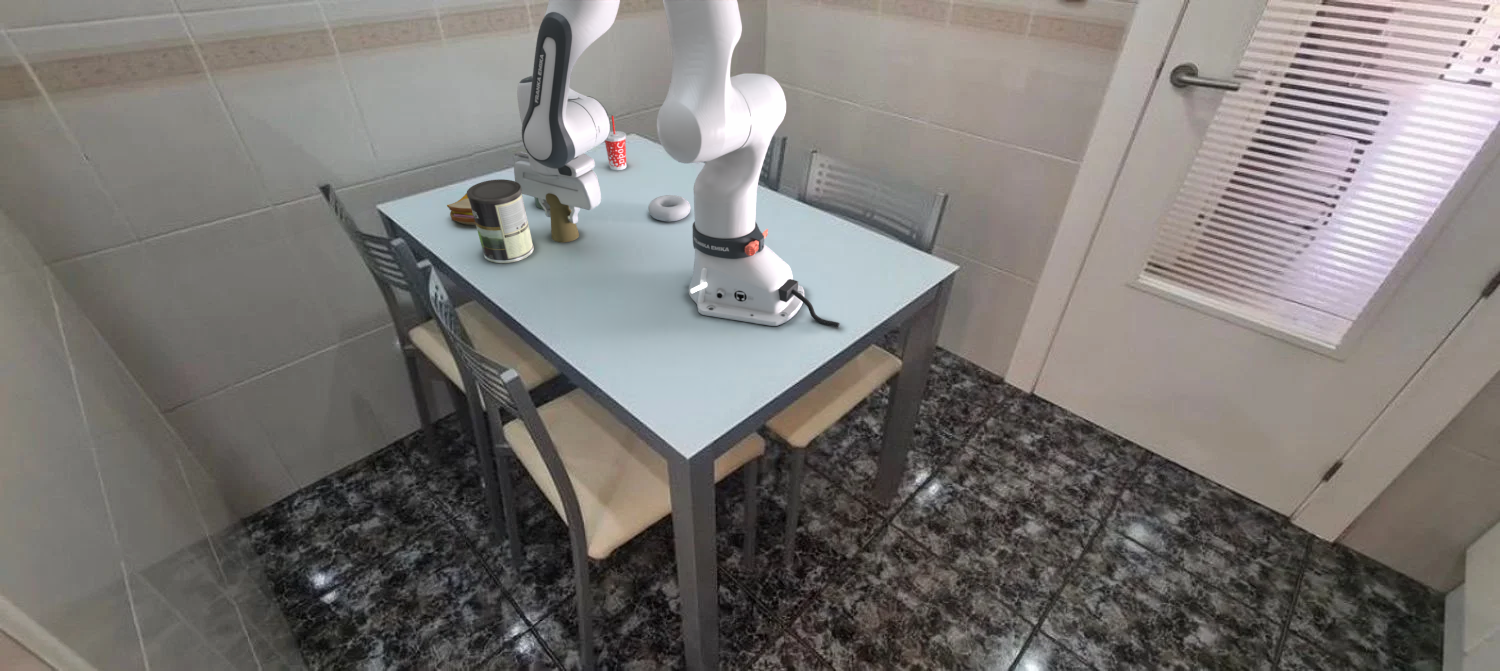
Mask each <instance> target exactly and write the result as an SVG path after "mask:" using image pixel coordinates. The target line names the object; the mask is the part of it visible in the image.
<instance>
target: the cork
mask: <svg viewBox="0 0 1500 671" xmlns="http://www.w3.org/2000/svg"><path fill="white" fill-rule="evenodd" d="M546 201H547V203H548V204H549V205H550V217H551V218H550V217H549V218H550V235H551V240H552V241H553V242H555V243H563V244H565V243H569V242H573V241H576V240H577V239H579V237H580V233H579V229H578V226H577V222H576V223H575V224H574V223H570V222H568V218H567V215H568V214H570V213H571V211H572V210H570V209H569V205H565V204H561V203H560V201H559V198H558V197H557V196H556V195H554V194H550V193H548V194H546Z"/></svg>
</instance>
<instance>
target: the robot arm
mask: <svg viewBox="0 0 1500 671" xmlns="http://www.w3.org/2000/svg"><path fill="white" fill-rule="evenodd" d="M620 4H621V0H548V2H547V7H546V11H545V13H544V16H543V18H542V21H541V23H540V26H539V29H538V33H537V38H536V43H535V52H534V60H533V61H534V62H533V68H532V69H533V70H532V75H530V76H527V77H525V78H522V79H521V80H520V81H519V83H517V91H516V92H517V93H516V94H517V107H518V113H519V116H520V122H521V140H522V144H523V146H524V149H525V151H526V152H525V151H523V150H517V151H516V152H515V153H514V154H513V156H512V159H513V160H512V161H513V163H514V165H513V174H514V181H515V182H517V183H519V184H520V185H521V188H522V191H521V192H522V195H525V196H529V197H532V198H534V197H536V198H538V200H539V203H540V204H541V206H542V207H543V209H542V210H544V213H545V217H547V218H550V219H551V217H550V205H549V204H548V203H547V201H546V194H548V193H550V194H554V195H556V196H557V197H558V198H559V201H560V203H561V204H565V205H569V209H570V210H572V211H571V213H570V214H568V215H567V218H568V222H570V223H574V224H575V223H576V224H577V223H578V222H579V215H578V214H579V213H580V210H586V211H593V210H594V209H595V208H597V207H598V206H600V204H601V203H602V193H601V187H600V182H599V178H598V176H597V174H596V172H595V171H594V170H593V169H595V167H596V162H595V159H594V158H593V157H591V156H590V155H588V154H586V153H587V152H589V151H591V150H592V149H594V148H595V147H597V146H600V145H601V144H603V143H605V140H606V139H607V138H608V136H609V134H610V131H611V120H610V119H611V118H610V115H609V113H608V111H607V108H606V107H604V105H603V103H602V102H600V101H599V100H598V99H597V98H594V97H593V96H590V95H584V94H583V93H580V92H578V91H576V90H574V89H572V88H571V87H570V86H571V78H572V72H573V69H574V67H575V65H576V63H577V61H578V59H579V58H580V57H581V56H582V55H583V53H584V52H585V51H586V50H587V49H588V48H589V47H590V46H591V45H592V44H593V43H594V42H595V41H597V40H598V39H599V38H600V37H602V36H603V35H605V33H607V32H608V31H609V30H610V29H611V27H612V26H613V25H614V23H615V21H616V19H617V18H616V17H617V15H618V11H619V7H620ZM662 5H663V9H664V13H665V18H666V23H667V28H668V33H669V39H670V45H671V72H670V73H671V74H670V81H669V86H668V90H667V94H666V97H665V100H664V101H663V103H662V105H661V107H660V108H659V110H658V113H657V117H656V132H657V137H658V140H659V142H660V144H661V147H662V149H663V150H664V151H665V152H666V154H667V155H668V156H669V157H670V158H671V159H673V161H676V162H678V163H681V164H696V163H697V164H698V163H704V162H705V163H704V164H703V167H702V169H701V170H700V171H699V173H697V176H696V178H695V181H694V183H693V214H694V215H693V216H694V217H693V218H694V221H693V223H692V246H693V249H694V260H693V269H692V274H691V275H692V276H691V279H690V284H689V286H688V295H689V297H690V299H691V300H693V302H694V303H695V304H696V306H697V312H698V313H699V314H700V315H703V316H708V317H714V318H721V319H726V320H732V321H738V322H746V323H751V324H758V325H764V326H770V327H771V326H772V327H777V326H779V325H780V326H781V325H783V324H785V323H787V322H788V321H789V320H791V319H792V318H794V316H796V314H797V313H798V312H799V311H800V309H801V308H802V306H803V305H805V306H806V307H807V309H808V311H809V315H810V316H811V318H812V319H813V320H814V321H816V322H817V323H818V324H821V325H824V326H829V327H835V328H839V327H840V324H841V323H840V322H837V321H832V320H828V319H824V318H822V317H820V316H818V315H817V314H816V312H815V309H814V306H813V305H812V303H811V301H809V299H808V298H806V297H805V289H804V287H803V286H802V285H799V281H798V280H795V279H794V276H793V270H792V269H791V266H790V265H789V264H788V263H787V262H785V261H784V259H783V258H781V257H780V256H779V255H778V254H776V253H775V252H774V251H773V250H772V249H771V248H770V247H769V246H767V244H766V243H765V239H766V237H768V235H769V233H768V231H769V228H766V229H765V230H764V231H763V232H762V231H761V229H760V228H759V225H758V222H757V221H756V218H757V217H756V216H757V197H758V185H759V181H760V177H761V172H762V169H763V165H764V162H765V158H766V155H767V152H768V149H769V146H770V144H771V142H772V139H773V137H774V135H775V133H776V131H777V130H778V128H779V127H780V125H781V124H782V123H783V121H784V119H785V116H786V113H787V100H786V95H785V92H784V90H783V88H782V86H781V85H780V83H779V82H778V81H777V80H776V79H775V78H773V77H772V76H770V75H769V74H766V73H765V74H764V73H747V72H746V73H740V74H737V75H733V76H731V65H732V58H733V54H734V50H735V48H736V46H737V45H738V43H739V41H740V39H741V37H742V32H743V24H742V18H741V12H740V8H739V3H738V0H662Z"/></svg>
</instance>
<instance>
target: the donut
mask: <svg viewBox="0 0 1500 671" xmlns="http://www.w3.org/2000/svg"><path fill="white" fill-rule="evenodd" d="M691 210H692V209H691V204H690V202H689V201H688V200H687V198H685V197H682V196H680V195H675V194H666V195H661V196H658V197H657V196H656V197H655V198H653V199H652V200H651V201H650V202H649V204H648V214H649V215H650V216H651V217H652V218H653V219H655V220H657V221H660V222H676V221H677V222H678V221H681V220H684V219H685V218H686V217H687V216H688V215H689V214H690V212H691Z"/></svg>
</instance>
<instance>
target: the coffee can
mask: <svg viewBox="0 0 1500 671" xmlns="http://www.w3.org/2000/svg"><path fill="white" fill-rule="evenodd" d="M521 191H522V188H521V185H520V184H519V183H517V182H515V180H512V179H501V178H500V179H499V178H497V179H490V180H485V181H481V182H478V183H476V184H474V185H472V186H470V187H469V188H468V189H467V191H466V193H467V197H468V199H469V201H470V205H471V209H472V213H473V216H474V220H475V224H476V225H475V227H476V230H477V235H478V238H479V242H480V245H481V249H482V253H483V257H484V258H485V260H487V261H489V262H491V263H494V264H495V263H496V264H511V263H516V262H520V261H522V260H525V259H526V258H528V257H529V256H531V255H532V254H533V252H534V250H535V246H534V244H533V238H532V235H531V229H530V225H529V220H528V215H527V211H526V207H525V202H524V196H523V194H522V192H521Z"/></svg>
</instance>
